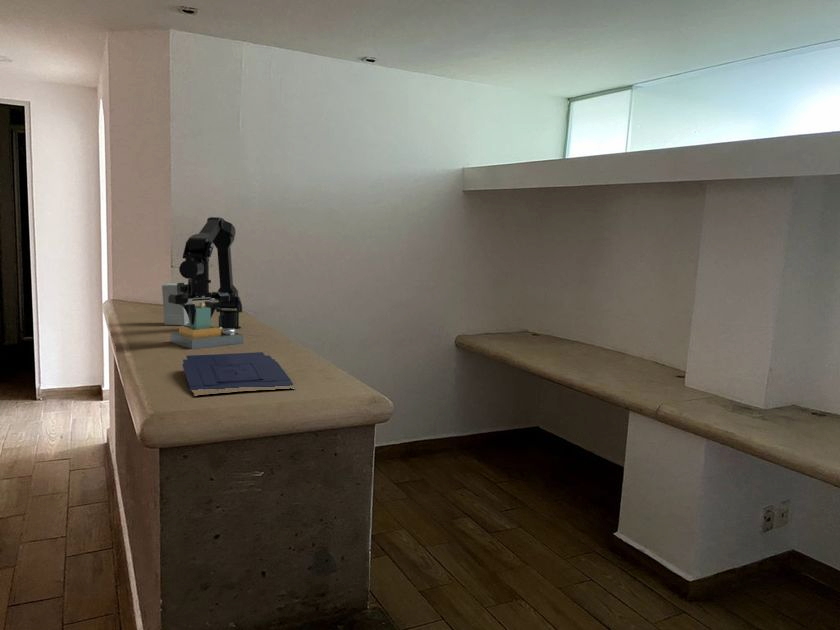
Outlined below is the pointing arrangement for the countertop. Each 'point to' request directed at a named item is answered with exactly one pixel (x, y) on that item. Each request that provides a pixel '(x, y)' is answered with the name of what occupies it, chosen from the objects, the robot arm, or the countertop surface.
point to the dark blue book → (233, 371)
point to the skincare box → (173, 307)
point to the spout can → (201, 318)
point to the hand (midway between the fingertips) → (200, 323)
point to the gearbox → (206, 337)
